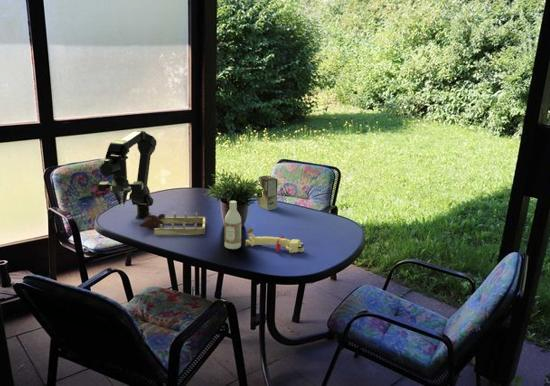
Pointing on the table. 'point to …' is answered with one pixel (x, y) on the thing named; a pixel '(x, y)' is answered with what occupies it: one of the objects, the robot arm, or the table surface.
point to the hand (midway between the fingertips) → (122, 204)
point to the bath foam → (232, 227)
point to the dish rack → (183, 221)
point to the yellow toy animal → (275, 242)
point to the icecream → (152, 221)
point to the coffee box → (268, 193)
